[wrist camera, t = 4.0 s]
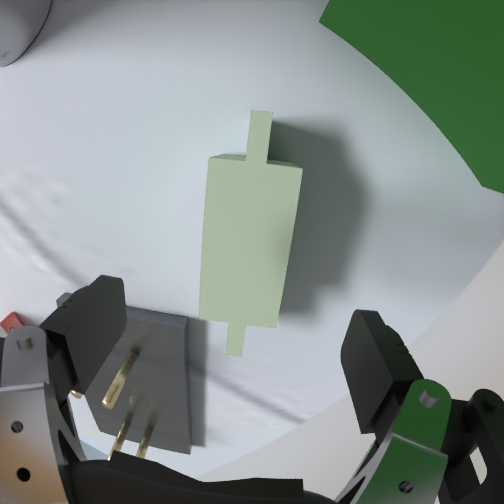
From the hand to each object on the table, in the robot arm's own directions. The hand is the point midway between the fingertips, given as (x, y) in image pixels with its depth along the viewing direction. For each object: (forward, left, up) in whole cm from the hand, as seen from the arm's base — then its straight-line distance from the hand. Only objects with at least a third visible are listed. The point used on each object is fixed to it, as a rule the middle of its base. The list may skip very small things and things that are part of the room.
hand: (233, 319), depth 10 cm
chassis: (+18, -10, -11) cm, 23 cm away
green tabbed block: (0, 0, -11) cm, 11 cm away
